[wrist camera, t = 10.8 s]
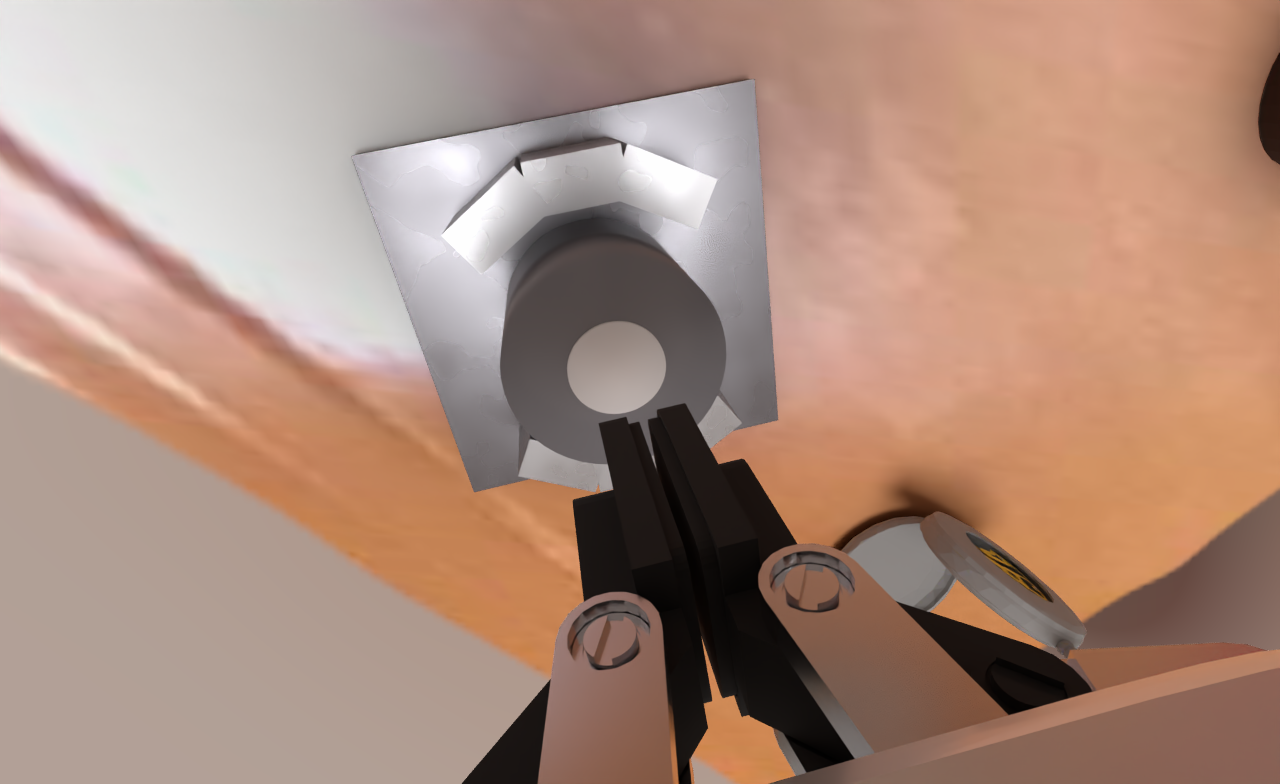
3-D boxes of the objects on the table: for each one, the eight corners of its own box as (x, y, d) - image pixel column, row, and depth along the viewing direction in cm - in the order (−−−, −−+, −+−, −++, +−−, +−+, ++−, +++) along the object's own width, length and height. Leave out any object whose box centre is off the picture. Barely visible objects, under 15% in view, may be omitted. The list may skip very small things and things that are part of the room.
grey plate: (355, 154, 17) (318, 165, 14) (748, 79, 18) (794, 74, 15) (475, 484, 23) (467, 544, 20) (773, 414, 24) (810, 460, 21)
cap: (484, 239, 19) (469, 283, 14) (670, 201, 19) (715, 232, 14) (531, 405, 21) (532, 488, 17) (693, 369, 22) (737, 440, 17)
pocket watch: (812, 625, 30) (934, 848, 21) (833, 485, 26) (992, 684, 17) (961, 602, 31) (1137, 804, 22) (1001, 465, 27) (1232, 641, 18)
